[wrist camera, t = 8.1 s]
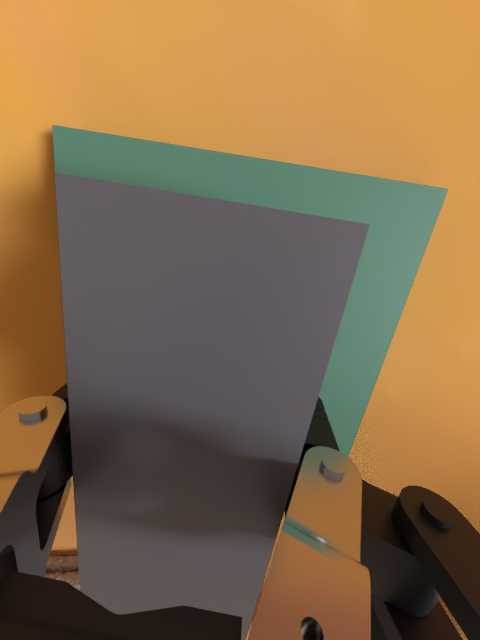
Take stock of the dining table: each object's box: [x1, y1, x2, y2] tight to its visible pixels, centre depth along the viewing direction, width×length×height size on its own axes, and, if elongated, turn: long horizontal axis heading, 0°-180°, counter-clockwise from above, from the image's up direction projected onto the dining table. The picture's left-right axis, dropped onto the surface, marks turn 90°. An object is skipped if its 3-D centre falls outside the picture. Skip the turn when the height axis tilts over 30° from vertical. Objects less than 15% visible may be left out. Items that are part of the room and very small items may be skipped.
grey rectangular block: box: [55, 172, 370, 640], centre depth 8 cm, size 12×5×5 cm, turn 171°
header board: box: [52, 125, 448, 457], centre depth 11 cm, size 14×16×5 cm
